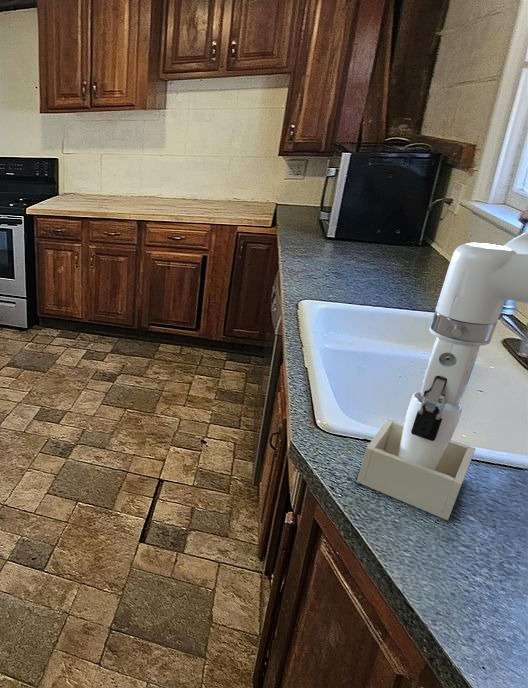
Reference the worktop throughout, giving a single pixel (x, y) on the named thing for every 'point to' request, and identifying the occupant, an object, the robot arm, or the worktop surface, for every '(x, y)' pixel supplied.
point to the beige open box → (414, 472)
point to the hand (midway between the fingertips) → (428, 426)
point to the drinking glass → (422, 448)
